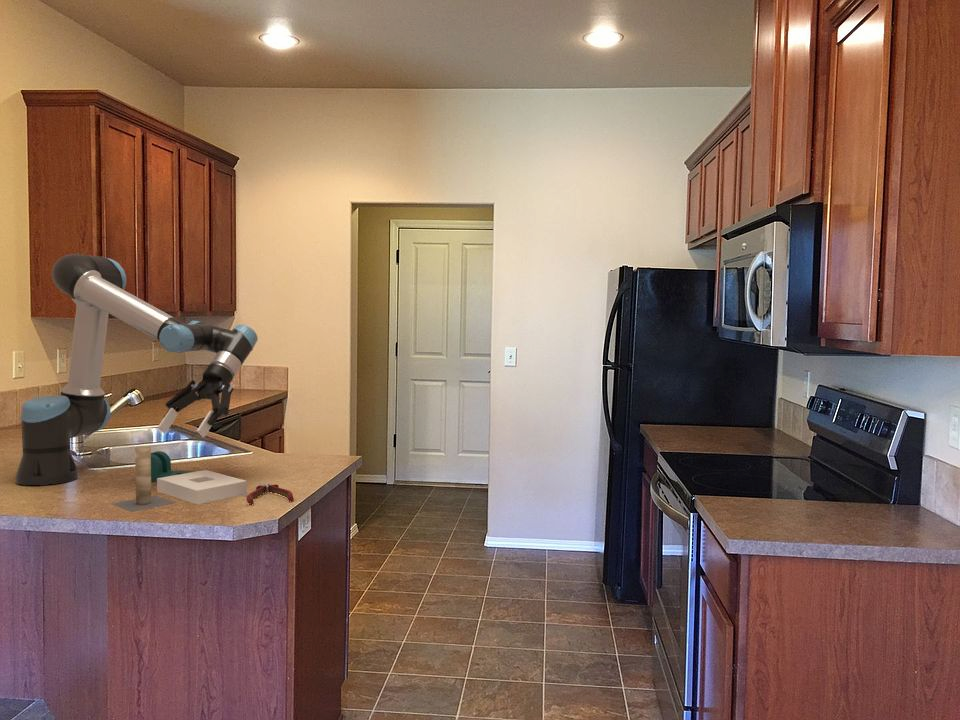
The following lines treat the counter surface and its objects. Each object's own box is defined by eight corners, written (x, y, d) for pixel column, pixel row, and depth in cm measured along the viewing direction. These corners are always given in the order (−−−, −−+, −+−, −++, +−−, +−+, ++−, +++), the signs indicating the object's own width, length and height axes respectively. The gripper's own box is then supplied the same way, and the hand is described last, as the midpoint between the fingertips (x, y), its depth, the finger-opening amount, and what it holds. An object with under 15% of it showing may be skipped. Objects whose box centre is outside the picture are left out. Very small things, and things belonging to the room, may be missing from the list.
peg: (133, 503, 177) (132, 447, 176) (147, 500, 179) (146, 445, 179) (140, 505, 174) (139, 449, 174) (154, 503, 177) (153, 447, 176)
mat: (110, 505, 176) (110, 503, 176) (154, 497, 185) (154, 495, 185) (132, 513, 169) (131, 511, 169) (176, 504, 178) (176, 502, 178)
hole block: (157, 493, 189) (157, 478, 189) (205, 483, 200) (205, 469, 199) (197, 506, 176) (197, 490, 176) (246, 495, 187) (246, 480, 187)
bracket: (135, 482, 201) (135, 455, 200) (149, 477, 208) (148, 450, 207) (196, 485, 199) (196, 457, 199) (208, 479, 206) (207, 452, 205)
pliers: (286, 486, 201) (286, 476, 200) (294, 504, 182) (294, 494, 182) (243, 489, 196) (243, 480, 196) (247, 508, 178) (247, 498, 178)
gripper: (263, 381, 197) (225, 444, 184) (195, 378, 207) (153, 436, 194) (250, 363, 192) (209, 426, 179) (180, 360, 202) (137, 420, 189)
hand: (180, 432), depth 186 cm, fingers open, 13 cm apart
